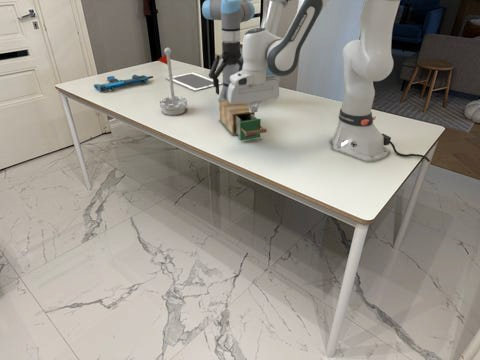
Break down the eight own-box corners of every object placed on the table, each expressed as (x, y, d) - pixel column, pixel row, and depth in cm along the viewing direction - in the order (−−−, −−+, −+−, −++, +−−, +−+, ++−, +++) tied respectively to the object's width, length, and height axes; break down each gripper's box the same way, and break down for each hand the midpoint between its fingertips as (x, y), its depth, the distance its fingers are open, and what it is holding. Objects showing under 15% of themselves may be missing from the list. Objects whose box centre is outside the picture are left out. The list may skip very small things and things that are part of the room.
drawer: (266, 143, 138) (266, 125, 134) (245, 146, 135) (246, 128, 131) (245, 122, 155) (245, 106, 151) (227, 125, 152) (227, 108, 148)
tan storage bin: (254, 131, 149) (254, 110, 144) (232, 135, 146) (232, 114, 141) (240, 117, 162) (240, 97, 157) (219, 120, 159) (219, 100, 154)
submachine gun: (139, 69, 223) (157, 75, 206) (140, 75, 225) (158, 81, 208) (86, 79, 204) (101, 87, 188) (88, 85, 206) (103, 94, 190)
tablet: (166, 78, 215) (166, 78, 215) (192, 72, 226) (192, 72, 226) (195, 91, 195) (194, 90, 195) (222, 83, 206) (222, 83, 206)
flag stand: (184, 104, 177) (178, 43, 160) (190, 113, 167) (184, 49, 150) (159, 107, 173) (150, 46, 156) (163, 117, 163) (155, 52, 146)
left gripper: (255, 37, 146) (254, 85, 158) (199, 41, 138) (202, 92, 150) (262, 40, 140) (261, 90, 152) (204, 45, 132) (207, 98, 144)
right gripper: (275, 71, 130) (273, 105, 138) (225, 76, 124) (226, 112, 131) (283, 75, 125) (281, 111, 133) (231, 81, 119) (232, 118, 126)
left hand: (232, 91), depth 151 cm, fingers open, 13 cm apart
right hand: (253, 111), depth 132 cm, fingers closed
